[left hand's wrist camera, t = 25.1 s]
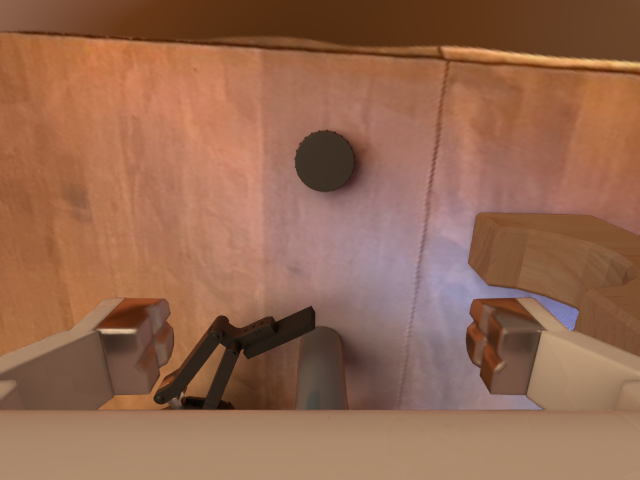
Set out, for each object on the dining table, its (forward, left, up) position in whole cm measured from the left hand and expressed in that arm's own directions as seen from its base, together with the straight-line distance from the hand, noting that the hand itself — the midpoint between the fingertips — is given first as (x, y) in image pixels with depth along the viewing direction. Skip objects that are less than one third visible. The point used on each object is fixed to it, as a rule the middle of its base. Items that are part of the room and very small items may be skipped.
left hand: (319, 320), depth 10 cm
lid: (-1, 0, -24) cm, 24 cm away
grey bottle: (+14, +13, -25) cm, 32 cm away
